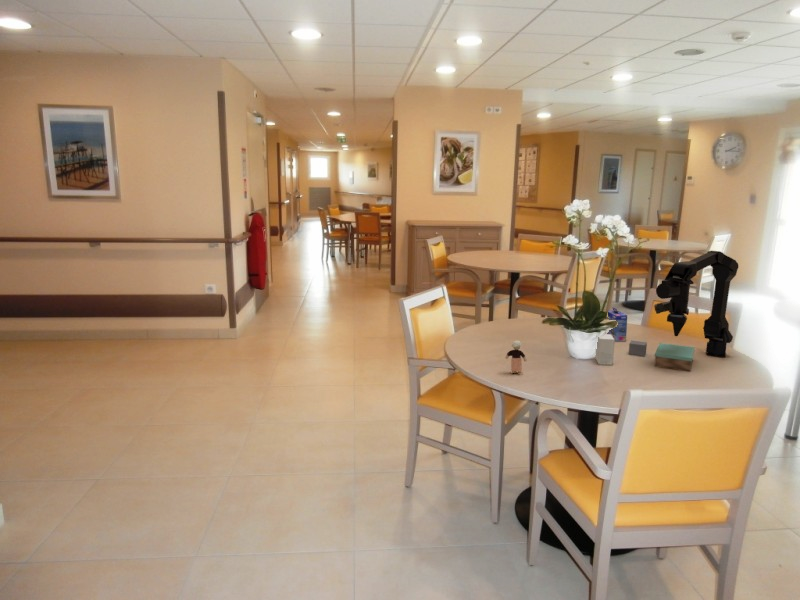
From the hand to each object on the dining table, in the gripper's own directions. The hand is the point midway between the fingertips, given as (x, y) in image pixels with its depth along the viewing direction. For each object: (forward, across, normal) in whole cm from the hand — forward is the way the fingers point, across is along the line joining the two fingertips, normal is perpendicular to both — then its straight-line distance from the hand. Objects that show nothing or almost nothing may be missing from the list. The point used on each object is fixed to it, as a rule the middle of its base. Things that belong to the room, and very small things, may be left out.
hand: (676, 335), depth 204 cm
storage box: (+12, -2, 0) cm, 12 cm away
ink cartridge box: (+12, -27, -26) cm, 39 cm away
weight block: (+12, -7, -14) cm, 20 cm away
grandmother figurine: (+12, +40, -50) cm, 65 cm away
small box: (+12, +10, -24) cm, 28 cm away
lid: (+7, -2, 0) cm, 8 cm away
